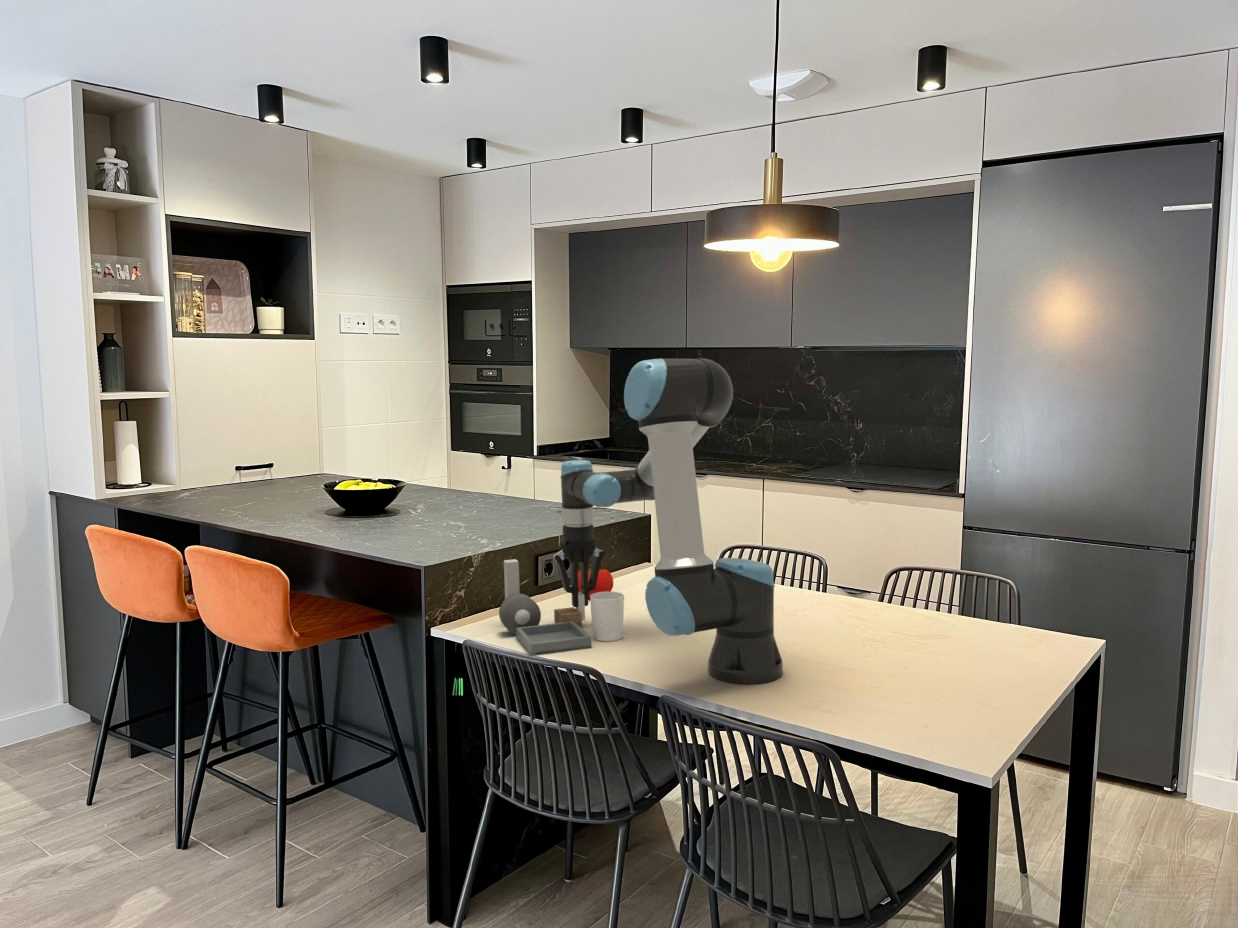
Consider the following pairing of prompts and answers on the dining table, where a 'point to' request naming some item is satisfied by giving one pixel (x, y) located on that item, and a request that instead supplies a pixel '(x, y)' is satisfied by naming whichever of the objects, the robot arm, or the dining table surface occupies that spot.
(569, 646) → the tray
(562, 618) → the brown wooden block
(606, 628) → the white cup
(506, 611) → the trolley wheel
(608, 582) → the tomato
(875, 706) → the dining table surface
